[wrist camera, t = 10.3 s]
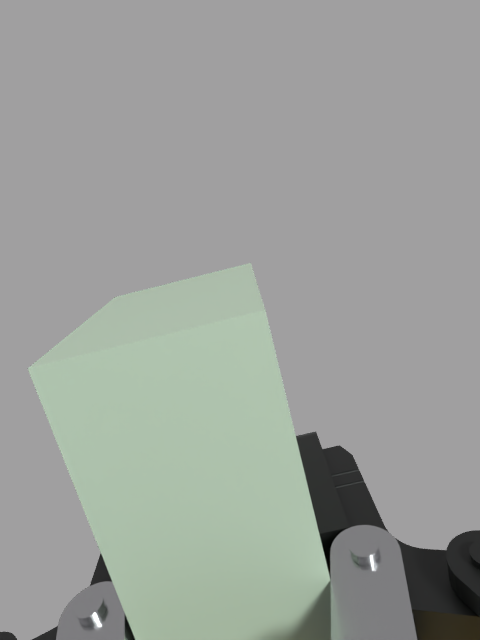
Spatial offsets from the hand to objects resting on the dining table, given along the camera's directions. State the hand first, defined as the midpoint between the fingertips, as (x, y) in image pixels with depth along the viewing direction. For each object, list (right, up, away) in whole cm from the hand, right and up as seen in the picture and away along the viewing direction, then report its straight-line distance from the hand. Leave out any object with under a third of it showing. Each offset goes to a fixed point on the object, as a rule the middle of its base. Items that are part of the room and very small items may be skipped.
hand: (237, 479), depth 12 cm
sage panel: (+3, -10, 0) cm, 11 cm away
